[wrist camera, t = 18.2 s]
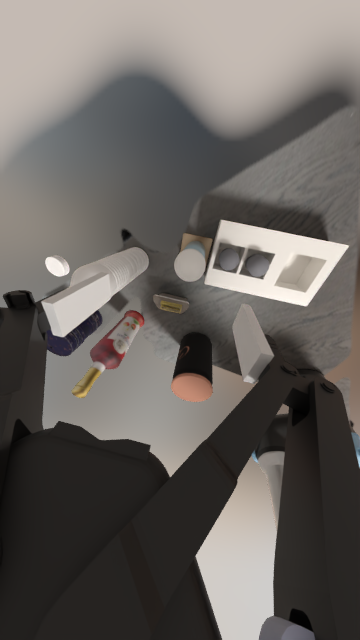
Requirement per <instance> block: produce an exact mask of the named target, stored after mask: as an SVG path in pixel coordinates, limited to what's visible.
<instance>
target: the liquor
mask: <svg viewBox="0 0 360 640" xmlns="http://www.w3.org/2000/svg"><path fill="white" fill-rule="evenodd" d="M143 325H144V318H143V316H142V315H141V314H140V313H139V312H137V311H133V310H130V311H127V312H126V313H125V316H124V318H122V320H121V321H120V322H119V323H118V324H117V325H116V326H115V327H114V328H113V329H112V330H111V331H110V332H109V333H107V335H105V336H104V337H103V339H101V340H100V341H99V342H98V343H97V344H96V345H95V346H94V347H93V348H92V350H91V351H90V356H91V358H92V360H93V362H94V363H93V364H92V366H91V367H90V369H89V370H88V372H87V373H86V375H85V376H84V377H83V378H82V379H81V380H80V381H79V382H78V383H77V385H76V386H75V387H74V388H73V390H72V394H73V395H75V396H77V397H79V398H84V397H85V396H86V394H87V393H88V392H89V390H90V389H91V387H92V384H93V382H94V381H95V380H96V379H97V378H98V376H99V375H100V374H101V373H102V372H103V371H104V370H105V369H115V368H117V367H118V366H119V364H120V362H121V361H122V359H123V357H124V355H125V354H126V352H127V350H128V348H129V346H130V344H131V342H132V341H133V339H134V337H135V335H136V333H137V332H138V330H139V328H140V327H142V326H143Z"/></svg>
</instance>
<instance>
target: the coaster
mask: <svg viewBox="0 0 360 640" xmlns="http://www.w3.org/2000/svg"><path fill="white" fill-rule="evenodd" d="M212 240H213V239H211V238H206V237H201V236H196V235H191V234H187V233H183V239H182V245H181V252H182V251H183V250H184V249H185V247H186V246H187V245H188V244H189V243H190V242H192V241H199V242H201V243H202V244H203V245H204V247H205V263H207V260H208V256H209V252H210V248H211V244H212ZM205 267H206V265H205Z"/></svg>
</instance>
